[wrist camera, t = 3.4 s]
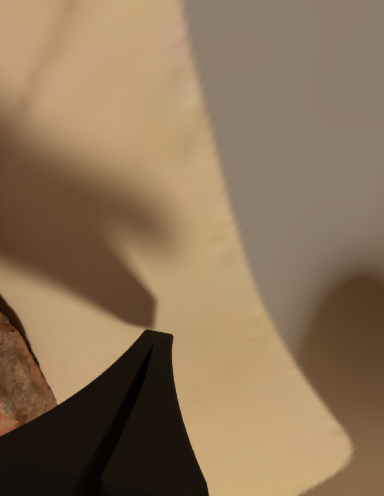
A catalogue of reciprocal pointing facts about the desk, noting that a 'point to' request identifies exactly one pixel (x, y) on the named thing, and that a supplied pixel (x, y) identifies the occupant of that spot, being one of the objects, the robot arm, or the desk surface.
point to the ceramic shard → (20, 382)
